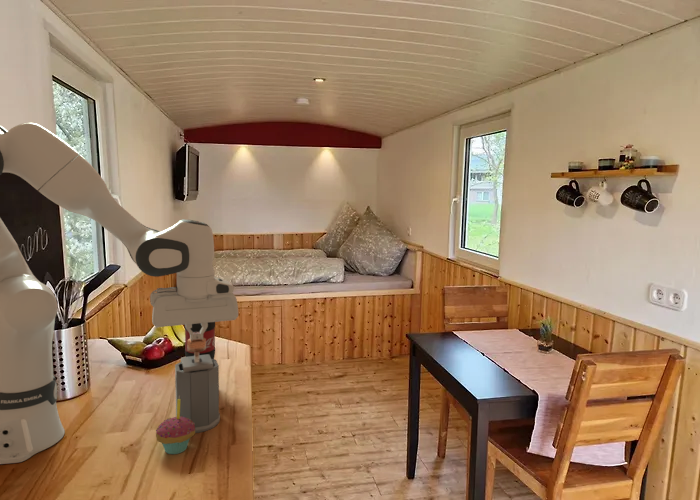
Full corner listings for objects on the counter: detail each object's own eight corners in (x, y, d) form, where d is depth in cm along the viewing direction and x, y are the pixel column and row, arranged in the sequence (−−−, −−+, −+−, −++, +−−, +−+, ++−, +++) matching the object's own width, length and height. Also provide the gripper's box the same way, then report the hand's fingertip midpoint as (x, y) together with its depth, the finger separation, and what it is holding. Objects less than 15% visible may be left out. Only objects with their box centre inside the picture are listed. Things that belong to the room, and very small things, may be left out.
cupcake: (166, 437, 111) (165, 390, 109) (201, 439, 110) (200, 392, 109) (149, 458, 102) (148, 407, 100) (187, 460, 102) (186, 409, 100)
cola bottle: (206, 398, 131) (205, 295, 127) (179, 395, 133) (177, 293, 128) (220, 386, 139) (220, 289, 135) (195, 383, 141) (193, 286, 137)
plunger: (183, 420, 113) (182, 346, 111) (181, 406, 120) (180, 337, 117) (214, 414, 116) (213, 343, 114) (209, 402, 123) (209, 334, 120)
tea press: (176, 436, 111) (175, 371, 109) (172, 410, 124) (171, 351, 121) (223, 428, 116) (222, 365, 114) (214, 403, 128) (214, 346, 126)
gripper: (150, 291, 106) (151, 349, 108) (239, 285, 115) (239, 339, 117) (149, 285, 112) (151, 340, 114) (234, 280, 120) (235, 331, 122)
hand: (196, 339), depth 115 cm, fingers closed, pressing on plunger
